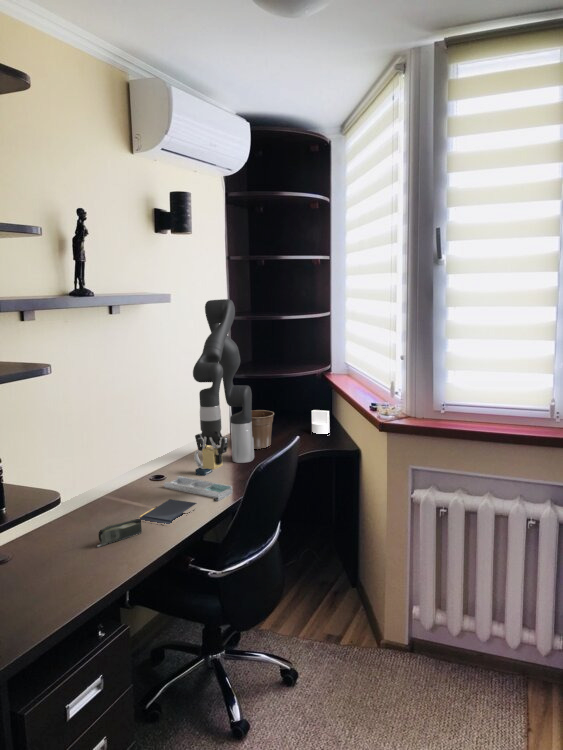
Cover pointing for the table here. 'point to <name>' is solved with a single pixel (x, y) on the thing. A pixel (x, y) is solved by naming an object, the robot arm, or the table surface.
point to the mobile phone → (119, 531)
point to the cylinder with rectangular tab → (320, 422)
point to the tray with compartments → (200, 487)
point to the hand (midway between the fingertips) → (212, 463)
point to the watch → (200, 466)
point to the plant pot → (262, 428)
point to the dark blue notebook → (167, 511)
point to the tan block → (210, 458)
